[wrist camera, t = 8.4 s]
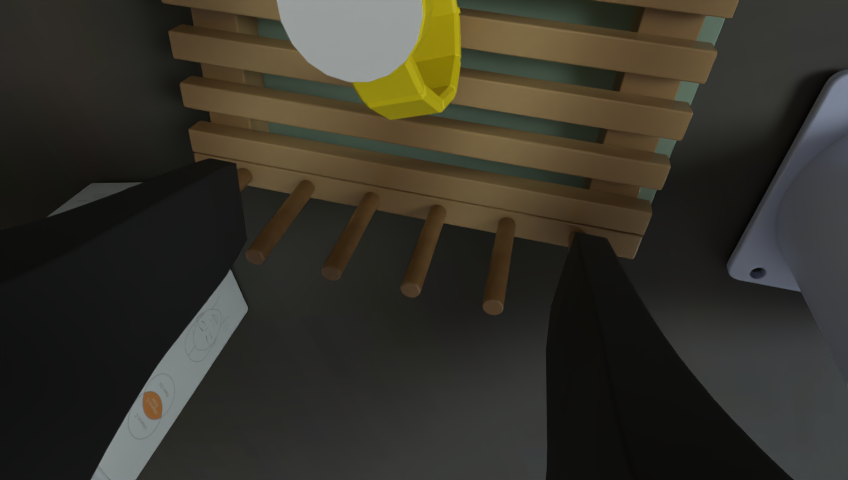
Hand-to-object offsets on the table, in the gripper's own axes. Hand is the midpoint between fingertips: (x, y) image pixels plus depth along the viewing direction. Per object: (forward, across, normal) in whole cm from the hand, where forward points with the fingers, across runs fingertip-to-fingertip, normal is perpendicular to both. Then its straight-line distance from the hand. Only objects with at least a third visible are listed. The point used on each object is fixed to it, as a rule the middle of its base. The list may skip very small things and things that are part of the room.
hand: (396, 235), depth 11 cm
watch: (+7, +1, -4) cm, 8 cm away
